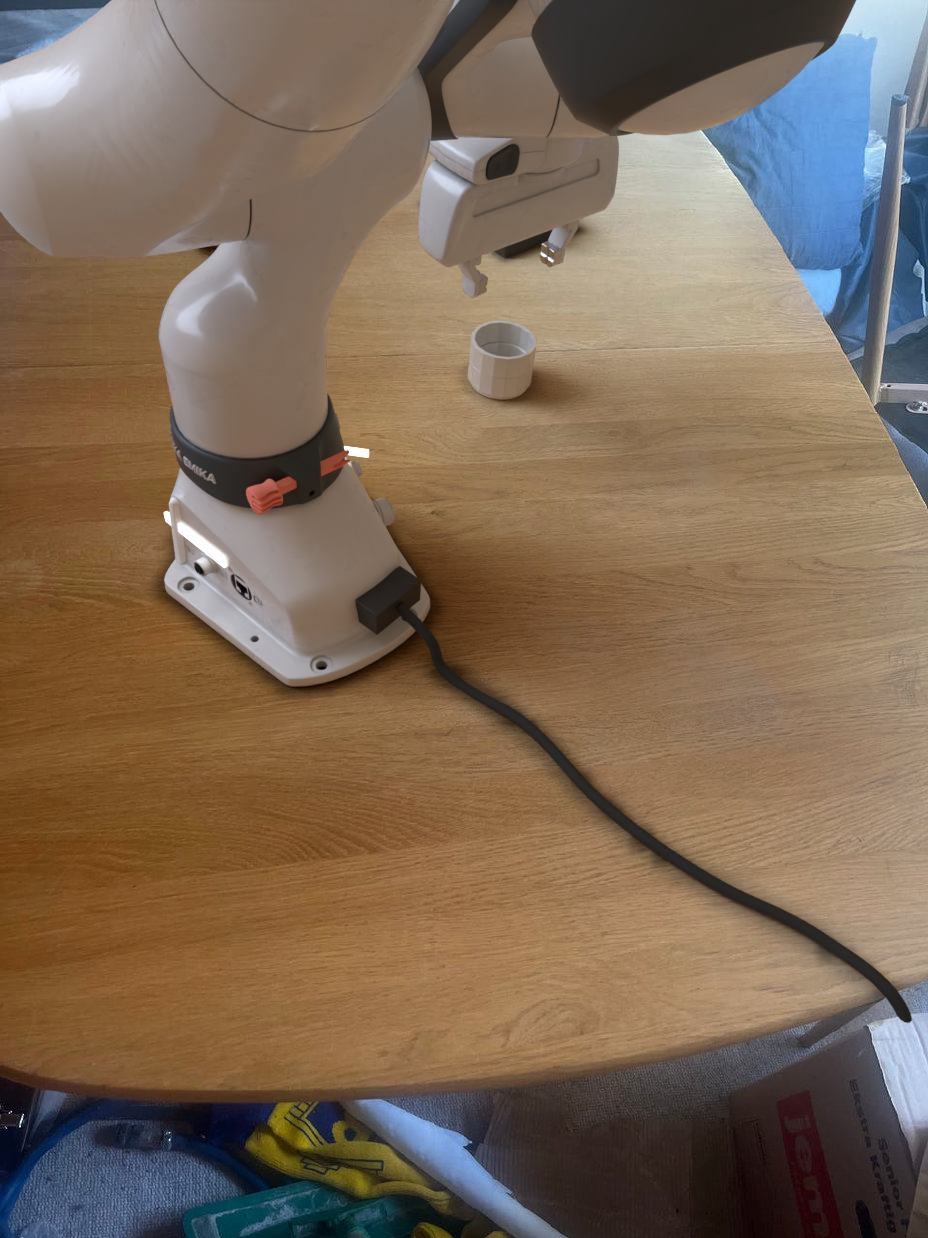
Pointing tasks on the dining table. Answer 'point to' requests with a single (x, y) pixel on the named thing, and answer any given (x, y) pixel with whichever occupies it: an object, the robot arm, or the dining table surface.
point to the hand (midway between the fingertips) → (513, 277)
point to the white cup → (501, 359)
